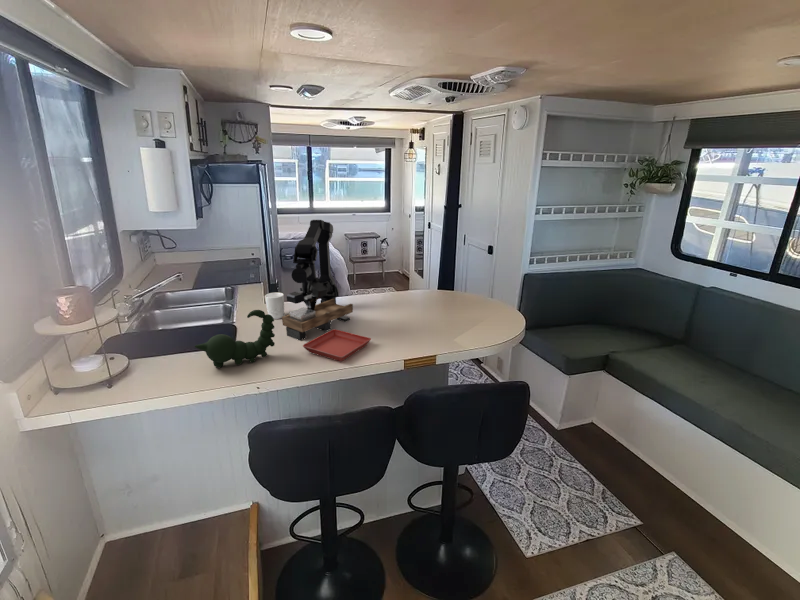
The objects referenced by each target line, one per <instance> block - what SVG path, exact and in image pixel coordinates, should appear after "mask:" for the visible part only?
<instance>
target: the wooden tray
mask: <svg viewBox="0 0 800 600" xmlns="http://www.w3.org/2000/svg"><path fill="white" fill-rule="evenodd" d="M314 311H315V314H316V317H315V318H312V319H310V320H307V321H304V322H300V321H297V320H294V319H291V318H290V313H289V314H287V315H284V316H283V317H282V318H281V319H282V320H281V322H282V326H284V327H289V328H292V329H295V330H297V331H300V332H305V331H306V332H307V331H309V330H312V329H316V328H315V327H317V326H320V325H322V324H324V323H332V321H334V320H337V318H339V317H342V316H347V315H349V314H351V313H353V312H354V306H353V303H349V304H346V305H341V304H337V303H336V304H335V300H334V299H331V300H328V301H325V302H322V303H321V302H320V303H318V304H317V303H316V305H315V309H314Z"/></svg>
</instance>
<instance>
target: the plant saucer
mask: <svg viewBox="0 0 800 600" xmlns="http://www.w3.org/2000/svg"><path fill="white" fill-rule="evenodd" d="M371 340H372V338H370V337H366V336H363V335H360V334H356V333H351V332H347V331H343V330H341V329H340V330H339V329H335V328H333V329H330V330H328V331H326V332H325V333H323V334H322V335H319V336H318V337H315V338H314V339H312V340H310V341H308V342H306V343H304V344H303V345H302V347H303V348H304V349H305V350H306V351H308V352H309V353H310V352H311V354H313V353H314V354H315V355H317V354H318V356H320V355H321V356H320V357H324V356H325V358H327V357H328V359H331V360H334V359H335V361H337V360H338V362H343V361H344V359H345V360H346V359H348V358H349V357H351V356H352V355H354V354H355V353H357V352H358V350H359V351H360V350H362V349H363V348H364V347H366V346H367V345H368V344H369V343H370V342H371Z"/></svg>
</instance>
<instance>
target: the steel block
mask: <svg viewBox="0 0 800 600" xmlns="http://www.w3.org/2000/svg"><path fill="white" fill-rule="evenodd" d="M289 314H290V318H291V319H294V320H297V321H300V322H304V321H307V320H310V319H312V318H315V317H316V314H315V311H314V310H311V309H308V308H307V307H304V306H303V307H299V308H298V309H295V310H292V311H289Z"/></svg>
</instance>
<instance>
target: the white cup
mask: <svg viewBox="0 0 800 600" xmlns="http://www.w3.org/2000/svg"><path fill="white" fill-rule="evenodd" d="M264 300H265V307H266V311H267V314H269V315H271V316H272V317H273V318H274V320H280V319H282V317H283V316H285V295H284V293H282V292H269V293H266V294H265V295H264Z"/></svg>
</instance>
